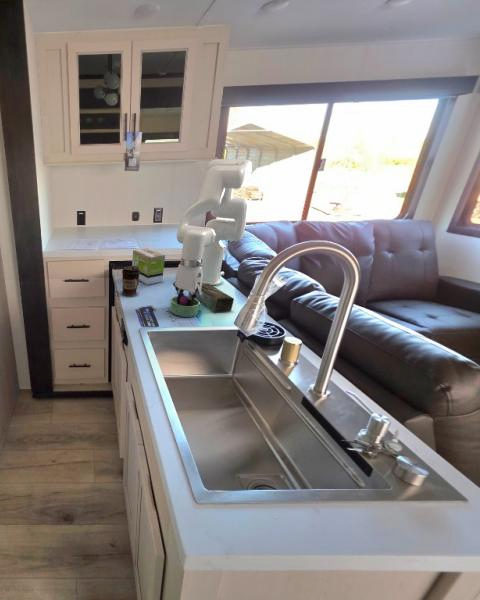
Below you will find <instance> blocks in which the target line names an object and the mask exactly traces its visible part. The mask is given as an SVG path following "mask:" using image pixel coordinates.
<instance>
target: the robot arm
mask: <svg viewBox="0 0 480 600" xmlns="http://www.w3.org/2000/svg"><path fill="white" fill-rule="evenodd" d="M252 166H253V165H252V162H251V161H250V159H244V158H217V159H212V160H210V161H209V162H208V163H207V165H206V174H205V177H204V181H203V183H202V187H201V191H200V194H199V198H198V200H197V201H196V202H194V203H193V204H191V206H190V207H188V209H186V210H185V212H184V214H183V215H182V216H181V219H180V222H179V225H178V228H177V232H176V240H177V242H178V243H179V244H182V249H181V254H180V255H181V257H180V263H179V264H178V266H177V270H176V273H175V278H174V279H175V280H174V281H173V283H172V286H173V287H174V289H175V291H176V296H178V298H177V304H180V301H179V300H180V298H181V297H182V296H184V295H185V292H188V295H187V296H189V299H187V303H186V306H193V301H194V298H195V299H196V297H197V296H200V295H202V292H201V288H202V284H205V283H209V284H211V285H212V286H219V285H221V284H222V282H223V280H222V279H221V276H224V275H225V272H224V271H221V270H222V264H223V260H224V259H223V258H224V254H225V246H224V243H223V242H222V241H226V242H240V241H242V240H243V238H244V235H245V231H246V225H247V220H248V214H249V209H250V208H249V206H250V203H249V200H248V199H247V198H244V197H237V196H233V193H234V190H239V189H241V188H242V187H243V186H244V185H245V183H246V182H247V180H248V179H249V178H250V176H251V172H252ZM208 212H210V215H211V216H212V217H214V218H215V219H214V218H213V219H210V220H208V221H207V222H206V224H205V226H200V225H190V222H191V221H192V220H193V219H195V218H196V217H197V216H200V215H203V214H205V213H208ZM219 218H220V219H219ZM195 290H196V291H197V293H196V292H195Z"/></svg>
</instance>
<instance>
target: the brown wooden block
mask: <svg viewBox="0 0 480 600" xmlns="http://www.w3.org/2000/svg"><path fill="white" fill-rule="evenodd" d="M195 292H196V293H197V291H196V290H195ZM201 292H202V295H200V296H197V297H196V298H195V299H197V300H198V301H199V302H201V304H203V305H205V306H206V307H207V308H209V309H210V310H212V311H213V312H214V313H224V312H225V313H226V312H232V309H233V305H234V301H235V298H234V297H232V296H230V295H229V294H227V293H225V292H224V291H222V290H220V289H219V288H217V287H215V285H211V284H209V283H205V284H202V288H201Z"/></svg>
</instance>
